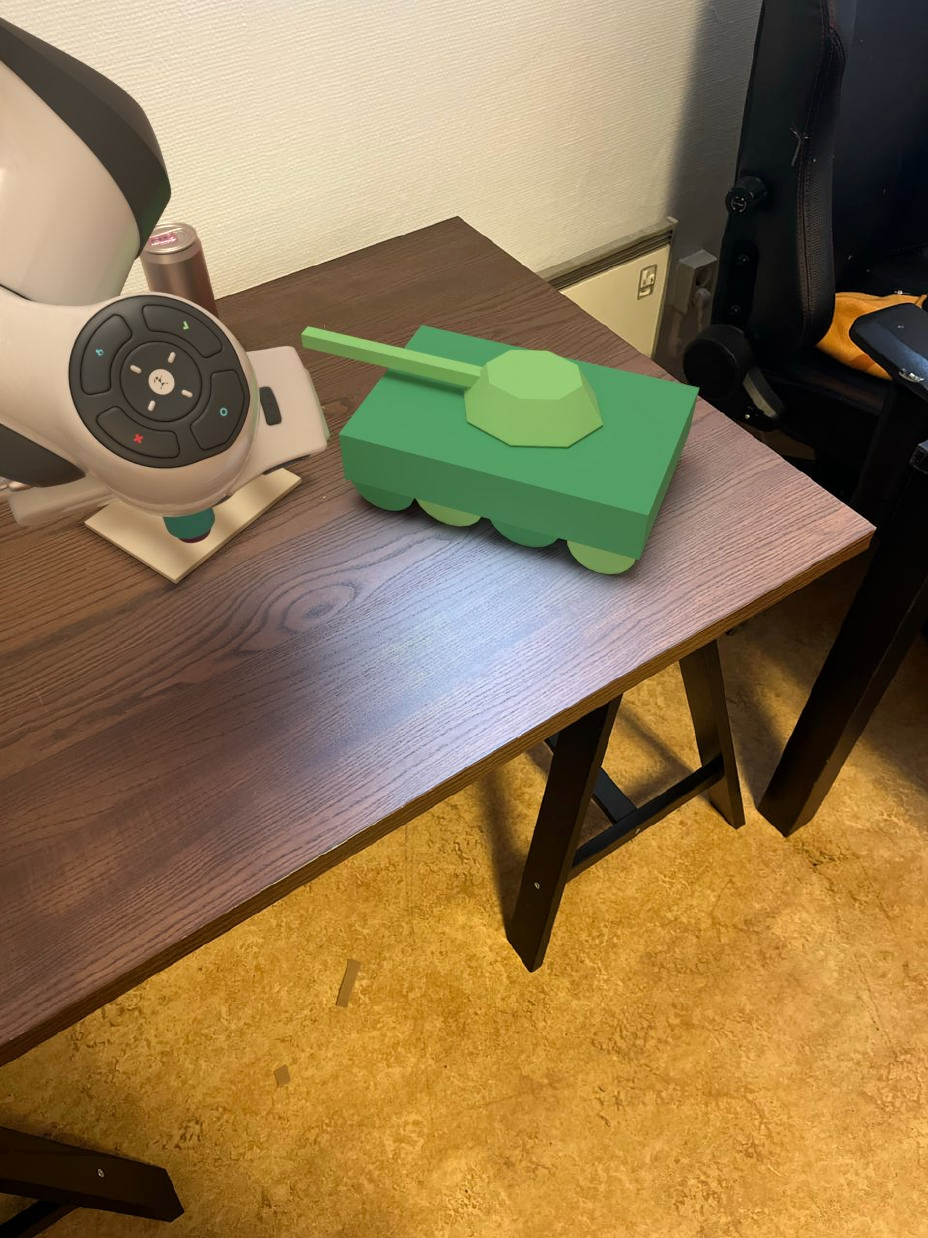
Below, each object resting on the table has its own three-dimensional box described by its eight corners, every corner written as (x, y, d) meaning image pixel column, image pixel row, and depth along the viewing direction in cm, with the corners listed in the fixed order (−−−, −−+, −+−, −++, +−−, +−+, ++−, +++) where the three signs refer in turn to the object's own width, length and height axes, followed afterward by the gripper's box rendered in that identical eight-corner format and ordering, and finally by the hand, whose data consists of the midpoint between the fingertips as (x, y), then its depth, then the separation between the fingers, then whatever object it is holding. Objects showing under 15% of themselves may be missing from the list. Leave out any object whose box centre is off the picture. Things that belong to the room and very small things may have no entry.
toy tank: (345, 273, 90) (707, 351, 81) (357, 380, 99) (683, 461, 91) (251, 376, 80) (655, 479, 71) (274, 486, 89) (633, 588, 80)
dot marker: (192, 555, 69) (151, 437, 61) (159, 535, 70) (115, 417, 62) (228, 527, 71) (193, 409, 62) (195, 507, 72) (156, 389, 64)
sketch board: (176, 584, 81) (173, 578, 81) (85, 526, 86) (83, 520, 85) (302, 482, 89) (301, 476, 89) (213, 434, 94) (212, 428, 93)
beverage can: (168, 361, 102) (128, 228, 90) (221, 347, 103) (189, 214, 92) (181, 391, 98) (142, 258, 87) (237, 376, 100) (205, 243, 88)
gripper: (-2, 547, 51) (37, 553, 64) (353, 441, 56) (321, 467, 69) (-46, 434, 50) (3, 464, 63) (319, 337, 55) (293, 383, 69)
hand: (172, 465), depth 66 cm, fingers closed on dot marker, 3 cm apart
